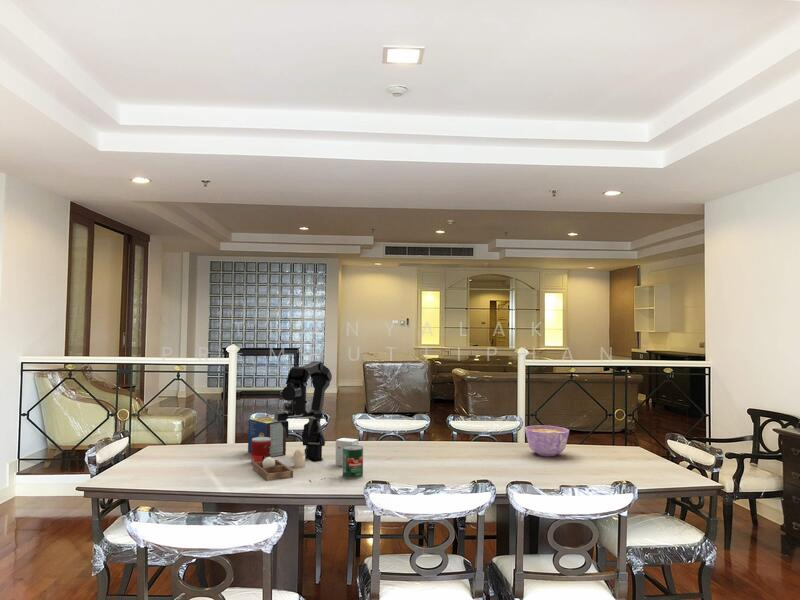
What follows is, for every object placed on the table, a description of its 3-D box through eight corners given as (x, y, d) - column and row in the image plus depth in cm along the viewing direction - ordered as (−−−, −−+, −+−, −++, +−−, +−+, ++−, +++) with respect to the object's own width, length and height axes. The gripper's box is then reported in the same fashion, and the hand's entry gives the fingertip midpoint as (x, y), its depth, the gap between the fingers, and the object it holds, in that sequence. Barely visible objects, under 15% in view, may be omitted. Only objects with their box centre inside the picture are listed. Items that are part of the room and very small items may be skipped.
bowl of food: (575, 459, 245) (574, 433, 246) (529, 459, 246) (529, 432, 246) (562, 450, 265) (562, 425, 266) (520, 449, 266) (520, 424, 266)
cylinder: (302, 467, 227) (303, 447, 227) (306, 470, 223) (306, 450, 223) (291, 468, 224) (292, 449, 225) (295, 471, 220) (295, 451, 221)
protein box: (267, 449, 259) (267, 416, 260) (286, 455, 249) (286, 420, 250) (247, 453, 252) (248, 418, 253) (265, 458, 241) (266, 422, 242)
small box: (358, 464, 232) (358, 439, 233) (351, 467, 227) (352, 441, 228) (341, 462, 236) (342, 437, 236) (335, 465, 231) (335, 439, 231)
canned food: (265, 468, 224) (266, 440, 225) (247, 467, 226) (248, 439, 227) (273, 464, 232) (274, 437, 233) (256, 462, 234) (256, 436, 234)
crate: (277, 468, 224) (277, 459, 224) (292, 480, 207) (292, 471, 207) (252, 471, 219) (253, 462, 219) (266, 483, 202) (267, 474, 202)
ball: (273, 467, 221) (273, 455, 221) (276, 470, 216) (277, 457, 217) (260, 469, 218) (260, 456, 219) (264, 472, 214) (264, 459, 214)
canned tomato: (352, 472, 220) (353, 444, 220) (367, 475, 215) (367, 447, 215) (338, 476, 214) (338, 447, 214) (352, 480, 209) (353, 450, 209)
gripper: (314, 394, 237) (313, 431, 236) (270, 396, 228) (270, 435, 227) (323, 397, 227) (322, 436, 226) (278, 399, 218) (277, 440, 217)
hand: (298, 436), depth 224 cm, fingers open, 9 cm apart
